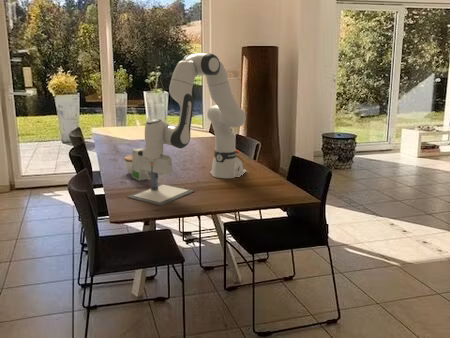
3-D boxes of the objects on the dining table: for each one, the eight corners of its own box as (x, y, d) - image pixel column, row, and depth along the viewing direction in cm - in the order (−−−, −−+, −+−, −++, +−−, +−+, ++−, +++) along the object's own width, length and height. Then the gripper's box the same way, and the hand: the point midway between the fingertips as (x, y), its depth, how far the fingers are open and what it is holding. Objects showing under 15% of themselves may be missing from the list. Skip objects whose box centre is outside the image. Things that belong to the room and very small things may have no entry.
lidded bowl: (142, 176, 254) (142, 157, 251) (120, 175, 256) (120, 155, 253) (150, 171, 266) (150, 152, 263) (130, 169, 268) (129, 150, 265)
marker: (154, 187, 232) (153, 160, 228) (160, 188, 230) (159, 161, 226) (148, 189, 228) (148, 162, 225) (155, 190, 227) (154, 163, 223)
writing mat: (162, 184, 241) (162, 183, 240) (194, 191, 231) (194, 190, 230) (127, 197, 219) (127, 195, 219) (160, 205, 209) (160, 203, 209)
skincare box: (131, 177, 253) (131, 149, 249) (142, 175, 257) (142, 147, 253) (139, 180, 246) (139, 152, 242) (150, 178, 251) (150, 150, 247)
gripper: (175, 154, 222) (175, 182, 226) (142, 149, 232) (143, 176, 236) (167, 157, 217) (167, 185, 220) (133, 151, 227) (134, 178, 231)
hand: (154, 180), depth 228 cm, fingers closed on marker, 4 cm apart
